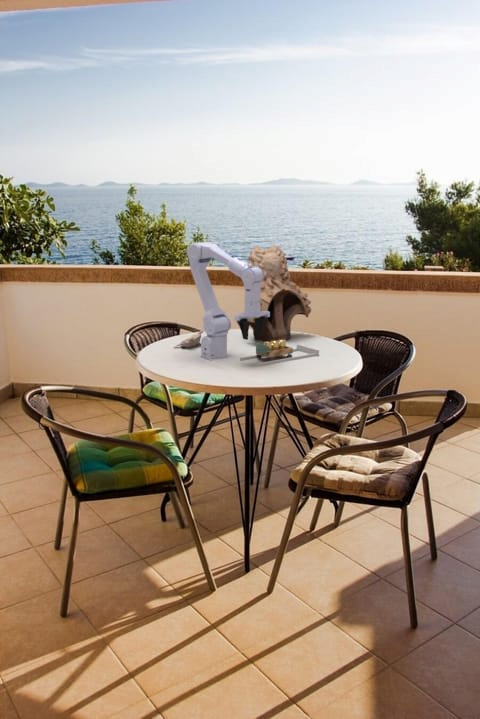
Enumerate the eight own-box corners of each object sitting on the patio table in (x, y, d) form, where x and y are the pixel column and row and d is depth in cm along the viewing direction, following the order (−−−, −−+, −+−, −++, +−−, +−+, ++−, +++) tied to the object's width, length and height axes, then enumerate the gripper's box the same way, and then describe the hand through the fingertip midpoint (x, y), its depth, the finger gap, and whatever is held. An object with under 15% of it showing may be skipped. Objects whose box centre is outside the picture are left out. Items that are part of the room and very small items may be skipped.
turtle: (195, 358, 266) (204, 335, 263) (173, 350, 265) (181, 327, 262) (196, 348, 281) (205, 326, 278) (175, 340, 280) (183, 319, 277)
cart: (268, 363, 243) (269, 347, 241) (254, 358, 249) (254, 343, 248) (293, 358, 249) (294, 343, 248) (279, 354, 256) (279, 339, 255)
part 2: (274, 352, 247) (274, 342, 246) (269, 351, 249) (269, 340, 248) (280, 351, 248) (280, 341, 247) (275, 350, 251) (275, 339, 250)
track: (258, 368, 238) (258, 360, 237) (239, 361, 248) (239, 353, 247) (318, 357, 254) (318, 349, 254) (298, 351, 264) (298, 344, 263)
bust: (287, 330, 304) (289, 242, 294) (315, 336, 291) (318, 244, 281) (229, 340, 282) (229, 245, 272) (256, 348, 269) (257, 248, 259)
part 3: (281, 351, 249) (281, 341, 248) (276, 350, 251) (276, 339, 250) (287, 350, 250) (287, 340, 249) (282, 349, 253) (282, 338, 252)
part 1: (266, 354, 245) (266, 343, 244) (261, 352, 247) (261, 341, 246) (273, 352, 247) (273, 342, 246) (268, 351, 249) (268, 340, 248)
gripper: (242, 304, 231) (242, 342, 234) (275, 300, 239) (274, 337, 242) (231, 301, 236) (230, 339, 240) (263, 298, 244) (262, 334, 248)
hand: (252, 338), depth 241 cm, fingers open, 5 cm apart
